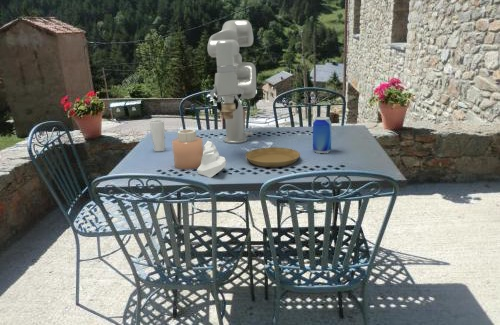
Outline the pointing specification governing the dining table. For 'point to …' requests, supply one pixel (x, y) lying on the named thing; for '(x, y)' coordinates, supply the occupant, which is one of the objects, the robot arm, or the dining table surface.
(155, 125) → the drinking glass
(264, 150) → the plant saucer
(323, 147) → the beer can
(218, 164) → the soft serve ice cream
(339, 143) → the dining table surface
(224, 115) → the stopper
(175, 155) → the orange jar
